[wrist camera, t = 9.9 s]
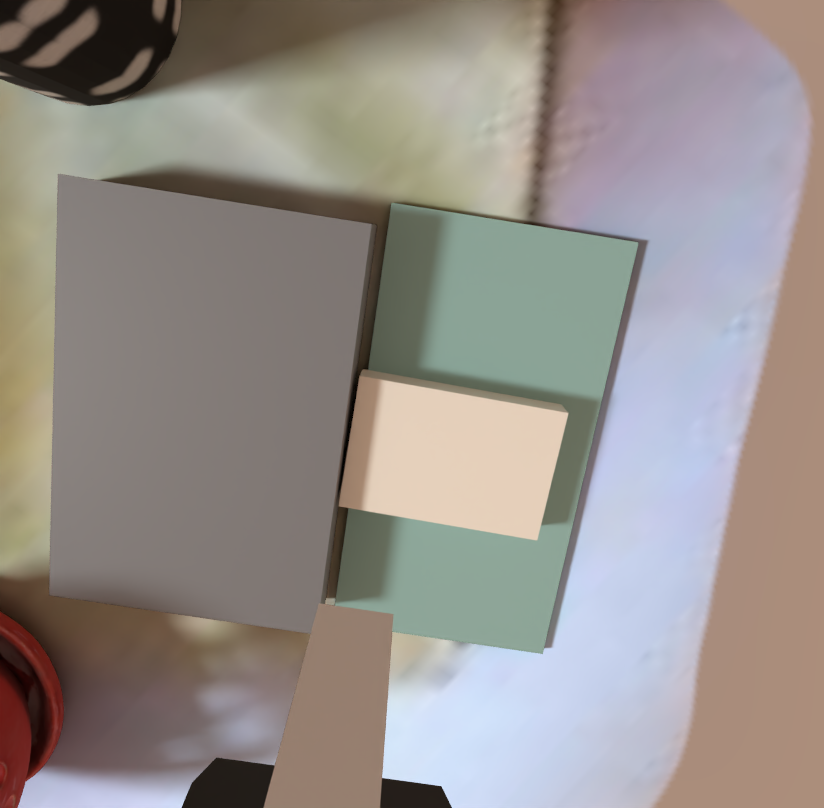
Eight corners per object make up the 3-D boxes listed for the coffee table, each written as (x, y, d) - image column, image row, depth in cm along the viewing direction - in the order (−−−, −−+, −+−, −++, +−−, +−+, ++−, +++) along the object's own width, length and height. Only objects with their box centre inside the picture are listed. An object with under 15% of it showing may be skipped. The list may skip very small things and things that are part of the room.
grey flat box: (96, 180, 28) (58, 173, 25) (377, 225, 28) (371, 223, 25) (82, 563, 32) (49, 595, 29) (326, 599, 32) (316, 634, 30)
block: (362, 369, 29) (359, 375, 28) (561, 404, 29) (568, 413, 28) (342, 493, 31) (338, 506, 29) (531, 526, 31) (536, 540, 29)
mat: (391, 202, 28) (391, 202, 27) (635, 242, 28) (638, 242, 28) (333, 618, 33) (332, 622, 32) (541, 648, 33) (542, 653, 33)
